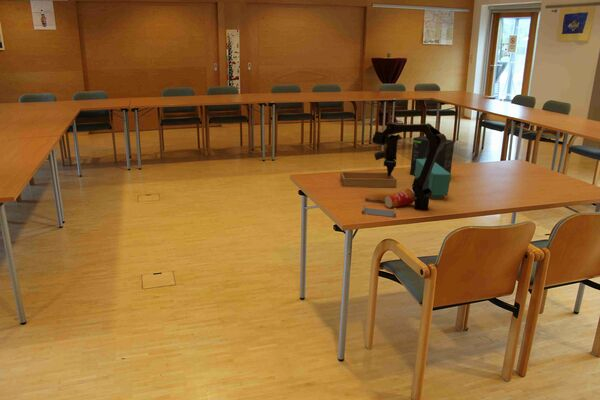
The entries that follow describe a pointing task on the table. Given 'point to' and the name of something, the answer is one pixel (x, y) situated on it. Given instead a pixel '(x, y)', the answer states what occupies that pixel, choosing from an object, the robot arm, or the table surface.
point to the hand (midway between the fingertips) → (388, 175)
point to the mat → (379, 212)
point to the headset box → (422, 150)
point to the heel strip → (374, 200)
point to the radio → (435, 179)
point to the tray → (367, 179)
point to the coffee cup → (400, 198)
